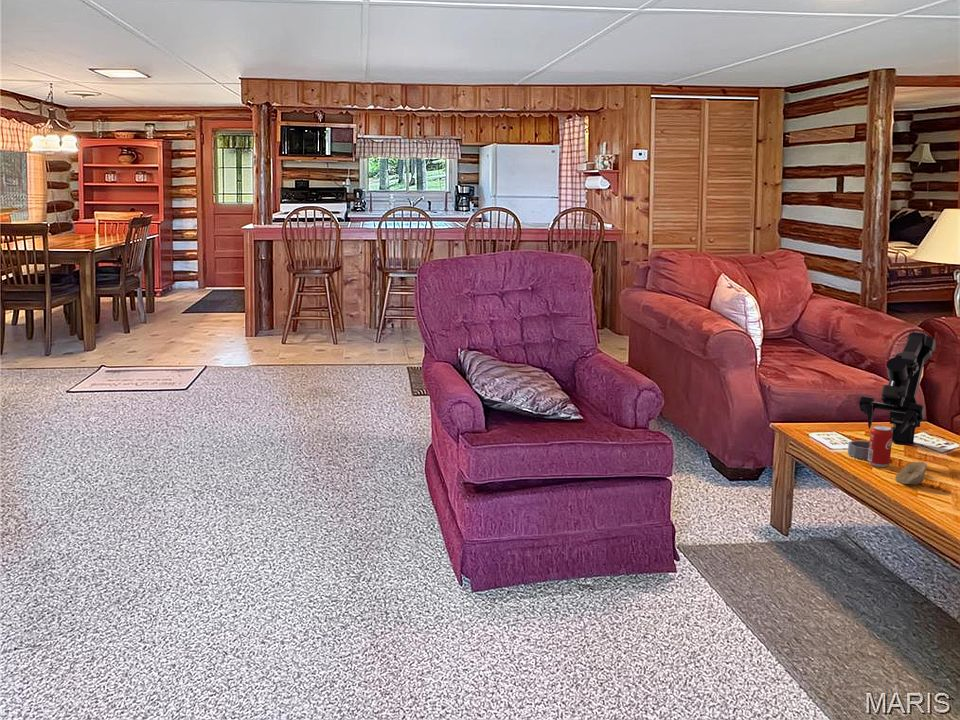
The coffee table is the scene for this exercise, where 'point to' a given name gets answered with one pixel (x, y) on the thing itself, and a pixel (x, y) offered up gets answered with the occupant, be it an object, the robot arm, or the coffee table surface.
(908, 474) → the fossil
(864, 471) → the coffee table surface
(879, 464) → the beverage can
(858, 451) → the can holder
